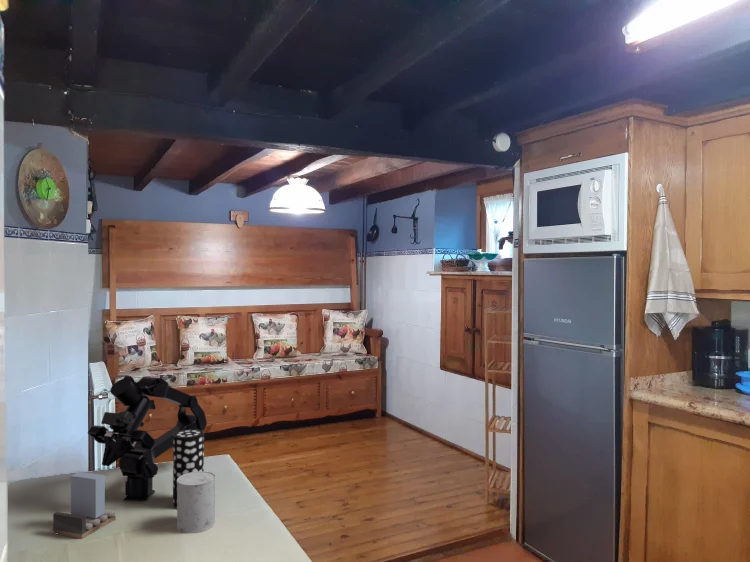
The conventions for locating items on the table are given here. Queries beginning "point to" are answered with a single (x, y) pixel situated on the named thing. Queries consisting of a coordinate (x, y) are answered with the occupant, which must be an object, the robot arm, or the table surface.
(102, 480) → the slab
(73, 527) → the roller track
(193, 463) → the spotted tube
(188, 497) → the speckled concrete cylinder
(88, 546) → the table surface
